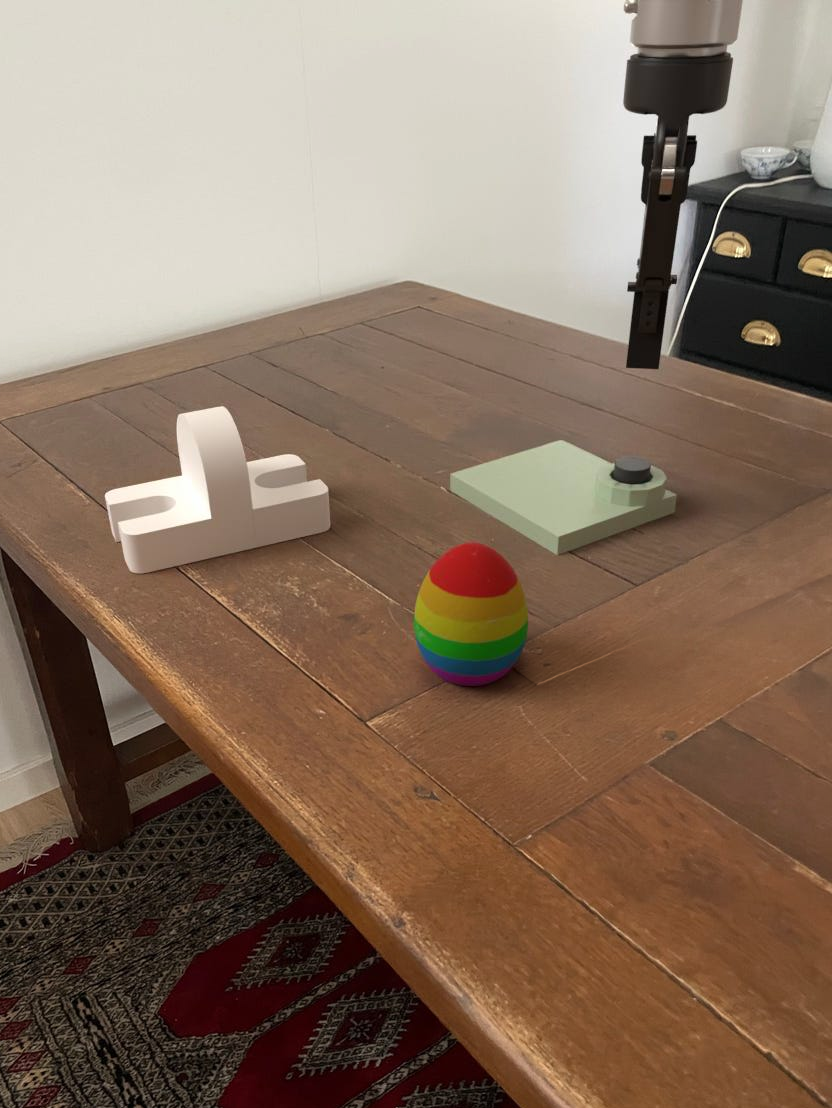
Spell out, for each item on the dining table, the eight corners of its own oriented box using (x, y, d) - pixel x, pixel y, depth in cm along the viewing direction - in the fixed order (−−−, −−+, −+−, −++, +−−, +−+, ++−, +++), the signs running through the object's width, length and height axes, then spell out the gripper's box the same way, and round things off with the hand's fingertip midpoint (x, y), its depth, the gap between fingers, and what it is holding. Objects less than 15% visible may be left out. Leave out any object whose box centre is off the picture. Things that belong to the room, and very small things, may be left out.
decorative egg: (414, 698, 73) (413, 577, 67) (414, 635, 80) (413, 520, 74) (530, 698, 72) (538, 575, 67) (520, 634, 79) (526, 518, 73)
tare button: (656, 480, 93) (658, 464, 92) (630, 489, 92) (632, 473, 91) (631, 468, 96) (633, 453, 95) (605, 477, 94) (607, 461, 93)
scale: (675, 513, 95) (680, 478, 93) (557, 556, 89) (560, 520, 87) (560, 456, 106) (563, 424, 104) (449, 491, 101) (450, 458, 99)
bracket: (297, 487, 103) (288, 377, 96) (334, 529, 95) (327, 412, 89) (109, 528, 97) (87, 413, 91) (132, 576, 89) (109, 454, 83)
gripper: (630, 44, 81) (601, 340, 94) (625, 59, 70) (593, 390, 84) (730, 41, 79) (686, 343, 92) (740, 57, 69) (689, 395, 82)
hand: (642, 365), depth 88 cm, fingers closed
